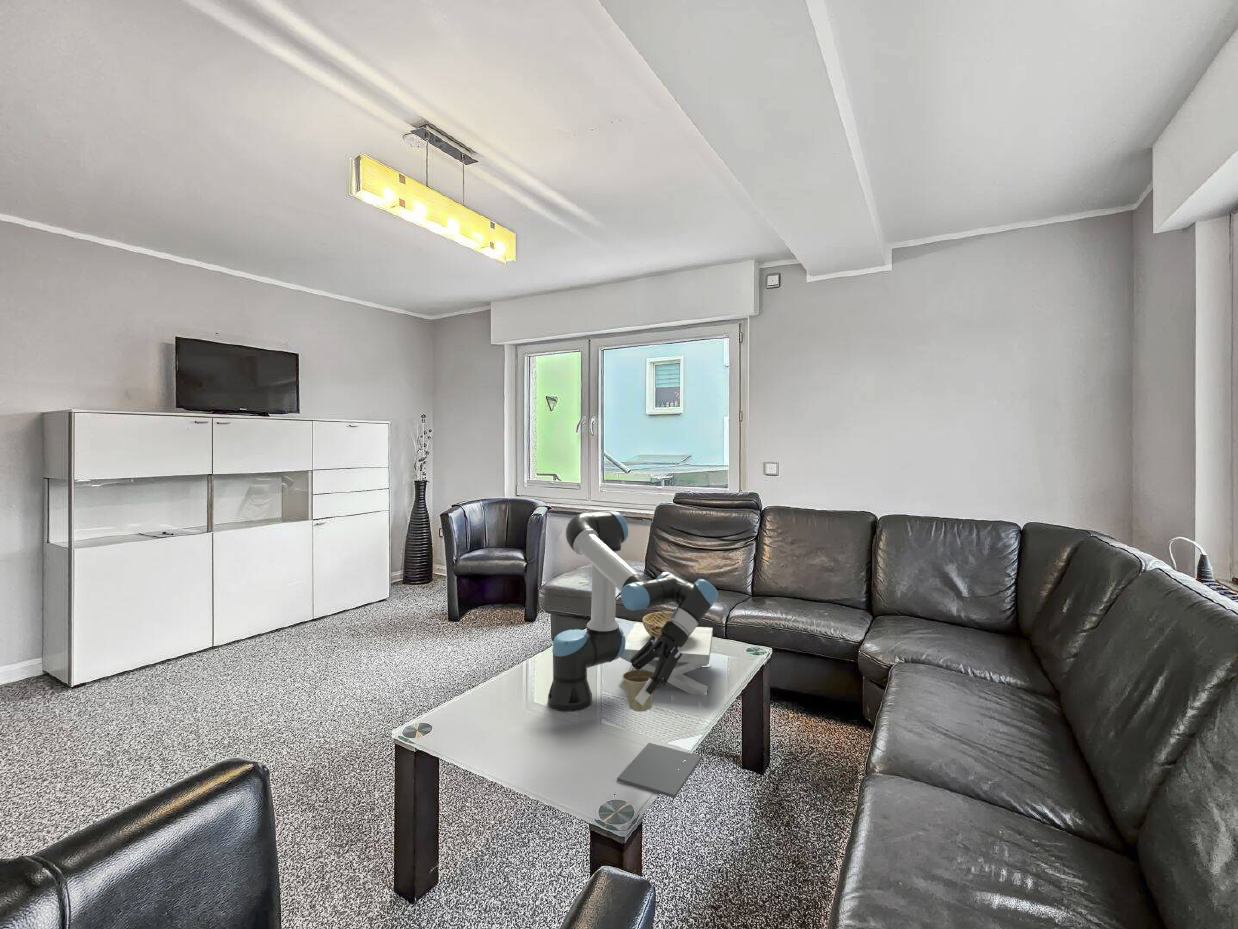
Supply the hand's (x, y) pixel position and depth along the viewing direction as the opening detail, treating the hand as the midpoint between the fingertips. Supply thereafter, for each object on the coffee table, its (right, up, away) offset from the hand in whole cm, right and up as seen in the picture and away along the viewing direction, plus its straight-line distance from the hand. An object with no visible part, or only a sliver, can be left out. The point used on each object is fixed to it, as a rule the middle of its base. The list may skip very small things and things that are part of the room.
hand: (629, 695), depth 150 cm
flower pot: (+3, -4, +1) cm, 5 cm away
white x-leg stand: (+16, -19, +64) cm, 69 cm away
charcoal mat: (+8, -19, -1) cm, 21 cm away
